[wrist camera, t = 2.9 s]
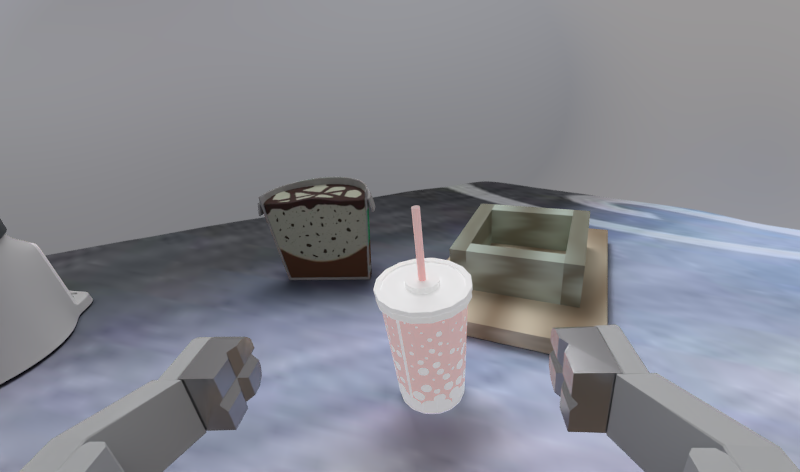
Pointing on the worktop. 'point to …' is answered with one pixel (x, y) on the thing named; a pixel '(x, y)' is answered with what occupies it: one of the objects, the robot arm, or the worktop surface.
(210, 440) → the worktop surface
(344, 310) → the worktop surface
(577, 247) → the collar stand
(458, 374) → the beverage cup
